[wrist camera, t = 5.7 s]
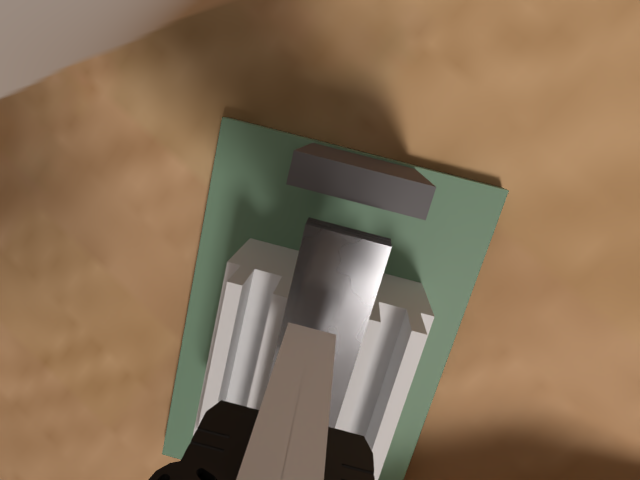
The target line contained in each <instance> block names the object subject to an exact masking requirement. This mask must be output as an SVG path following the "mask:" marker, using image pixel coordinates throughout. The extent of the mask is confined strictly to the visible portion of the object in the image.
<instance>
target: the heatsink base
mask: <svg viewBox="0 0 640 480" xmlns="http://www.w3.org/2000/svg"><path fill="white" fill-rule="evenodd" d="M508 192H509V191H508V190H506V189H504V188H502V187H498V186H494V185H490V184H486V183H482V182H478V181H474V180H470V179H467V178H463V177H459V176H455V175H451V174H447V173H443V172H439V171H435V170H431V169H428V168H424V167H420V166H416V165H412V164H408V163H404V162H400V161H396V160H392V159H389V158H385V157H381V156H377V155H373V154H369V153H365V152H361V151H357V150H354V149H350V148H346V147H342V146H338V145H334V144H330V143H326V142H322V141H318V140H315V139H311V138H307V137H303V136H299V135H295V134H291V133H287V132H283V131H279V130H276V129H272V128H268V127H264V126H260V125H256V124H252V123H248V122H244V121H241V120H237V119H233V118H229V117H222V121H221V127H220V132H219V138H218V144H217V149H216V155H215V160H214V166H213V172H212V177H211V183H210V188H209V194H208V200H207V205H206V211H205V217H204V222H203V228H202V233H201V239H200V245H199V250H198V256H197V261H196V267H195V273H194V278H193V284H192V290H191V295H190V301H189V306H188V312H187V318H186V323H185V329H184V335H183V340H182V346H181V351H180V357H179V363H178V368H177V374H176V379H175V385H174V391H173V396H172V402H171V408H170V413H169V419H168V424H167V430H166V436H165V441H164V447H163V452H162V454H163V455H166V456H170V457H174V458H177V459H182V457H183V455H184V453H185V451H186V449H187V447H188V445H189V444H190V442H191V440H192V438H193V436H194V434H195V432H196V430H197V429H198V426H199V424H200V422H201V420H202V418H203V416H204V414H205V413H206V411H207V410H209V409H210V408H211V407H213V406H214V405H215V404H217V403H218V402H220V401H221V400H223V401H227V402H230V403H234V404H238V405H242V406H246V407H249V408H253V409H257V410H260V407H261V404H262V401H263V398H264V395H265V391H266V388H267V384H268V379H269V375H270V371H271V367H272V363H273V358H274V354H275V350H276V346H277V341H278V337H279V333H280V329H281V325H282V320H283V316H284V312H285V308H286V304H287V299H288V295H289V291H290V287H291V283H292V278H293V274H294V270H295V266H296V261H297V257H298V253H299V249H300V245H301V240H302V236H303V232H304V228H305V224H306V222H307V220H308V218H309V217H310V218H314V219H317V220H321V221H325V222H329V223H333V224H337V225H340V226H344V227H348V228H352V229H356V230H360V231H363V232H367V233H371V234H375V235H379V236H383V237H386V238H390V239H391V244H392V248H391V251H390V254H389V258H388V261H387V264H386V267H385V270H384V273H383V277H382V280H381V283H380V286H379V289H378V292H377V296H376V299H375V302H374V305H373V308H372V312H371V315H370V318H369V321H368V324H367V327H366V331H365V334H364V337H363V340H362V343H361V346H360V350H359V353H358V356H357V359H356V362H355V365H354V369H353V372H352V375H351V378H350V381H349V384H348V388H347V391H346V394H345V397H344V400H343V404H342V407H341V410H340V413H339V416H338V419H337V423H336V426H335V429H339V430H343V431H347V432H351V433H354V434H358V435H362V436H364V437H365V439H366V441H367V443H368V445H369V447H370V449H371V450H372V452H373V459H374V477H375V480H403V479H404V476H405V474H406V471H407V468H408V465H409V463H410V460H411V457H412V454H413V452H414V449H415V446H416V444H417V441H418V438H419V435H420V433H421V430H422V427H423V424H424V422H425V419H426V416H427V413H428V411H429V408H430V405H431V402H432V400H433V397H434V394H435V392H436V389H437V386H438V383H439V381H440V378H441V375H442V372H443V370H444V367H445V364H446V361H447V359H448V356H449V353H450V350H451V348H452V345H453V342H454V339H455V337H456V334H457V331H458V329H459V326H460V323H461V320H462V318H463V315H464V312H465V309H466V307H467V304H468V301H469V298H470V296H471V293H472V290H473V287H474V285H475V282H476V279H477V277H478V274H479V271H480V268H481V266H482V263H483V260H484V257H485V255H486V252H487V249H488V246H489V244H490V241H491V238H492V235H493V233H494V230H495V227H496V224H497V222H498V219H499V216H500V214H501V211H502V208H503V205H504V203H505V200H506V197H507V194H508Z"/></svg>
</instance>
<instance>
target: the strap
mask: <svg viewBox="0 0 640 480" xmlns="http://www.w3.org/2000/svg"><path fill="white" fill-rule="evenodd" d="M391 248H392V244H391V239H390V238H386V237H383V236H379V235H375V234H371V233H367V232H363V231H360V230H356V229H352V228H348V227H344V226H340V225H337V224H333V223H329V222H325V221H321V220H317V219H314V218H310V217H309V218H308V220H307V222H306V224H305V228H304V232H303V236H302V240H301V245H300V249H299V253H298V257H297V261H296V266H295V270H294V274H293V278H292V283H291V287H290V291H289V295H288V299H287V304H286V308H285V312H284V316H283V320H282V325H281V329H280V333H279V337H278V341H277V346H276V350H275V354H274V358H273V363H272V367H271V371H270V375H269V379H270V376H271V373H272V370H273V367H274V364H275V361H276V358H277V355H278V352H279V349H280V346H281V343H282V340H283V337H284V334H285V331H286V328H287V325H288V322H289V323H293V324H297V325H301V326H305V327H308V328H312V329H316V330H320V331H324V332H328V333H332V334H335V335H336V343H335V355H334V367H333V378H332V390H331V401H330V413H329V425H328V427H332V428H335V426H336V423H337V419H338V416H339V413H340V410H341V407H342V404H343V400H344V397H345V394H346V391H347V388H348V384H349V381H350V378H351V375H352V372H353V369H354V365H355V362H356V359H357V356H358V353H359V350H360V346H361V343H362V340H363V337H364V334H365V331H366V327H367V324H368V321H369V318H370V315H371V312H372V308H373V305H374V302H375V299H376V296H377V292H378V289H379V286H380V283H381V280H382V277H383V273H384V270H385V267H386V264H387V261H388V258H389V254H390V251H391ZM269 379H268V382H269ZM267 385H268V384H267Z"/></svg>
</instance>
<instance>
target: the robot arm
mask: <svg viewBox="0 0 640 480" xmlns="http://www.w3.org/2000/svg"><path fill="white" fill-rule="evenodd" d="M335 343H336V335H335V334H332V333H328V332H324V331H320V330H316V329H312V328H308V327H305V326H301V325H297V324H293V323H289V322H288V325H287V328H286V331H285V334H284V337H283V340H282V343H281V346H280V349H279V352H278V355H277V358H276V361H275V364H274V367H273V370H272V373H271V376H270V379H269V382H268V385H267V388H266V391H265V395H264V398H263V401H262V404H261V407H260V410H257V409H253V408H249V407H246V406H242V405H238V404H234V403H230V402H227V401H223V400H221V401H220V402H218V403H217V404H215V405H214V406H213V407H211V408H210V409H209V410H207V411H206V413H205V414H204V416H203V418H202V420H201V422H200V424H199V426H198V429H197V430H196V432H195V434H194V436H193V438H192V440H191V442H190V444H189V445H188V447H187V449H186V451H185V453H184V455H183V457H182V459H181V461H179V462H173V463H170V464H168V465H166V466H164V467H162V468H160V469H159V470H157V471H156V472H155V473H154V474H153V475H152V476H151V477H150V479H149V480H375V477H374V459H373V452H372V450H371V449H370V447H369V445H368V443H367V441H366V439H365V437H364V436H362V435H358V434H354V433H351V432H347V431H343V430H339V429H335V428H332V427H328V425H329V413H330V401H331V390H332V378H333V367H334V355H335Z"/></svg>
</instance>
